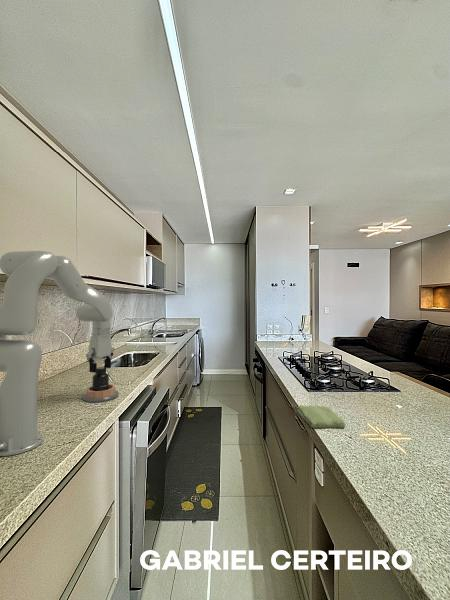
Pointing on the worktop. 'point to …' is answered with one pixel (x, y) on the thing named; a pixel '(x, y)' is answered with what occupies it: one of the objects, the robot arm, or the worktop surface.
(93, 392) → the bottle holder
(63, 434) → the worktop surface
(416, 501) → the worktop surface
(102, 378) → the supplement bottle
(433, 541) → the worktop surface
